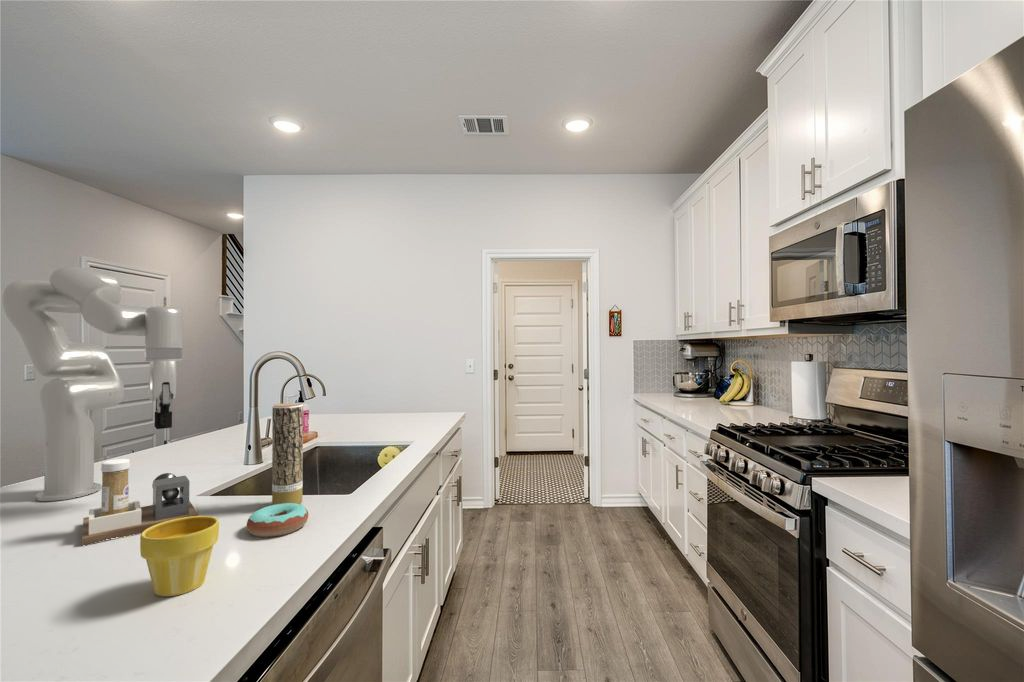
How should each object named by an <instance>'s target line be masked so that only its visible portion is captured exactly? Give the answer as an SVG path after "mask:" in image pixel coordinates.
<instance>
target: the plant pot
mask: <svg viewBox="0 0 1024 682" xmlns="http://www.w3.org/2000/svg"><path fill="white" fill-rule="evenodd" d="M219 533H220V520H219V519H218V518H217V517H216V516H211V515H210V516H209V515H198V516H191V517H184V518H178V519H173V520H169V521H166V522H162V523H159V524H156V525H154V526H152V527H150V528H148V529H146V530H144V531H143V532H142V533H140V536H139V537H140V538H139V539H140V543H139V547H140V548H139V549H140V550H139V551H140V557H141V558H142V559H144V560H145V561H146V564H147V568H148V572H149V577H150V581H151V584H152V589H153V592H154V594H155V595H156V596H159V597H174V596H180V595H183V594H187V593H189V592H192V591H194V590H196V589H197V588H199V587H201V586H202V585H203V584H204V583H205V580H206V576H207V572H208V568H209V563H210V560H211V556H212V552H213V548H214V545H215V544H216V543H217V542H218V540H219Z"/></svg>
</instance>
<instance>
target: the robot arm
mask: <svg viewBox="0 0 1024 682" xmlns="http://www.w3.org/2000/svg"><path fill="white" fill-rule="evenodd" d="M121 285H122V284H121V282H120V280H119V279H118V277H117V276H116V275H114V274H113V273H111V272H108V271H105V270H101V269H100V270H98V269H94V268H93V269H92V268H87V267H81V266H80V267H79V266H62V267H59V268H57V269H55V270H54V271H53V272H52V273H51V274H50V276H49V281H48V280H41V279H38V280H37V279H20V280H16V281H12V282H10V283H9V284H7V286H6V287H5V288H4V290H3V293H2V309H3V311H4V314H5V316H6V318H7V319H8V320H9V322H10V323H11V325H12V326H13V327H14V328H15V330H16V331H17V333H18V334H19V335H20V337H21V339H22V341H23V344H24V346H25V348H26V350H27V352H28V353H27V354H28V355H29V358H30V360H31V362H32V364H33V367H34V368H35V370H36V371H37V372H38V374H39V375H41V376H43V377H46V378H54V379H51V380H48V381H46V383H44V384H43V385H42V386H41V389H40V390H39V401H40V404H41V409H42V412H43V419H44V420H43V421H44V473H43V474H44V478H43V479H44V482H43V485H44V486H43V487H44V488H43V490H42V491H40V492H38V493H36V494H35V500H36V501H38V502H52V501H53V502H54V501H55V502H56V501H64V500H65V501H66V500H71V499H76V497H77V498H81V497H84V496H89V495H91V493H92V494H94V492H95V493H97V492H99V491H100V490H102V483H98V482H95V481H94V479H95V477H94V475H95V473H94V472H95V425H94V423H93V421H92V419H91V418H90V417H89V416H88V415H87V414H86V412H85V411H88V410H89V411H90V410H97V409H106V408H107V409H108V408H112V407H115V406H117V405H119V404H120V403H122V401H123V400H124V398H125V385H124V382H123V381H122V378H121V375H120V373H119V372H118V369H117V367H116V365H115V363H114V360H113V358H112V356H111V355H110V353H109V351H107V349H106V348H105V347H103V346H102V345H100V344H96V343H90V342H89V343H88V342H86V343H85V342H74V341H71V340H70V338H69V337H68V335H67V333H66V330H65V328H64V327H63V326H62V325H61V324H60V323H59V322H58V321H57V320H55V319H54V318H53V317H51V316H50V315H48V314H47V313H46V312H49V313H61V314H62V313H63V314H65V313H67V314H81V315H82V319H84V322H86V323H87V324H88V325H90V326H91V327H93V328H95V329H96V330H98V331H100V332H102V333H104V334H107V335H113V336H132V337H133V336H138V337H144V362H149V368H148V390H147V391H148V393H147V397H148V399H149V400H150V401H152V402H155V411H154V428H155V430H156V429H157V430H162V429H171V428H172V427H173V411H172V401H173V400H174V399H176V395H177V377H178V376H177V362H181V361H183V312H182V310H181V309H179V308H178V307H172V306H151V307H147V306H146V307H144V306H136V305H135V306H134V305H121V304H120V302H121V299H122V296H121V295H122V294H121V289H122V287H121ZM98 490H99V491H98ZM96 491H97V492H96ZM88 494H89V495H88Z"/></svg>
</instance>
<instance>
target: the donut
mask: <svg viewBox="0 0 1024 682" xmlns="http://www.w3.org/2000/svg"><path fill="white" fill-rule="evenodd" d="M308 519H309V511H308V509H307V508H306V507H305V506H304V505H303V504H301V503H300V504H295V503H284V504H276V505H269V506H265V507H262V508H260V509H258V510H256V511H254V512H252V514H250V516H249V517H248V519H247V521H246V529H247V530H248V532H249V533H250V535H252V536H255V537H259V538H275V537H280V536H286V535H289V534H291V533H293V532H294V533H295V532H296V531H298V530H299V529H301V528H302V527H304V526H305V525H306V524H307V522H308Z"/></svg>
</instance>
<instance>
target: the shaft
mask: <svg viewBox="0 0 1024 682" xmlns="http://www.w3.org/2000/svg"><path fill="white" fill-rule="evenodd" d="M172 477H177V476H176V475H175V474H174V473H170V472H164V473H161V474H160V475H158V476H156V478H154V480H160V479H166V478H172ZM152 488H153V483H152ZM179 496H180V489H178V488H173V489H167V490H162V499H163V500H167V501H171V500H174V499H176V498H178V497H179Z"/></svg>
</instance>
